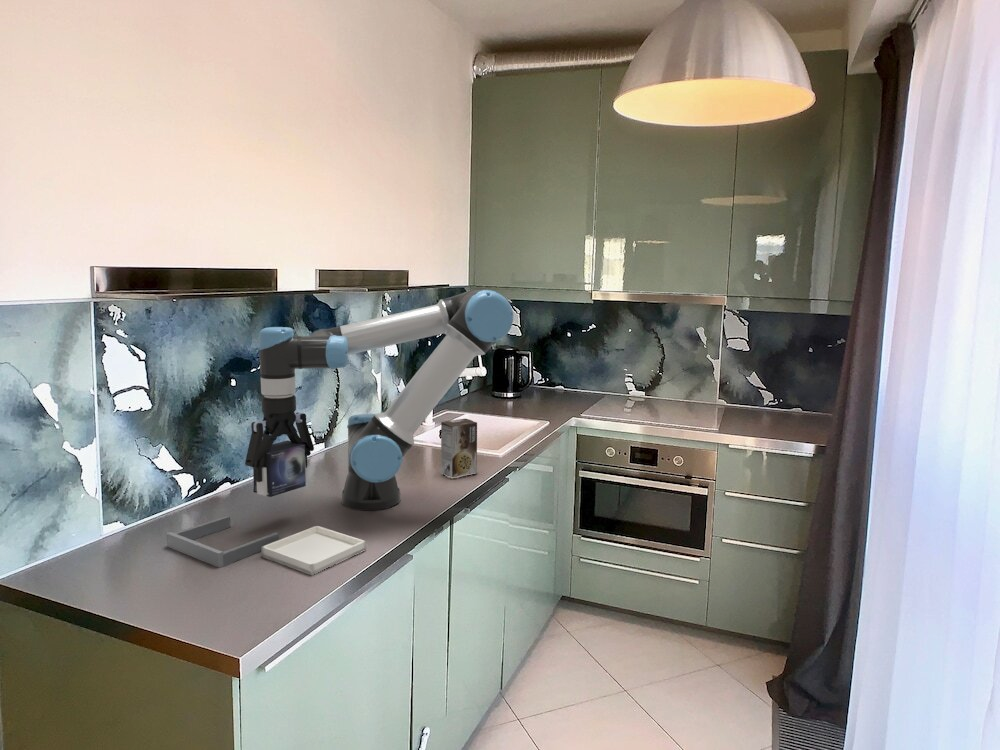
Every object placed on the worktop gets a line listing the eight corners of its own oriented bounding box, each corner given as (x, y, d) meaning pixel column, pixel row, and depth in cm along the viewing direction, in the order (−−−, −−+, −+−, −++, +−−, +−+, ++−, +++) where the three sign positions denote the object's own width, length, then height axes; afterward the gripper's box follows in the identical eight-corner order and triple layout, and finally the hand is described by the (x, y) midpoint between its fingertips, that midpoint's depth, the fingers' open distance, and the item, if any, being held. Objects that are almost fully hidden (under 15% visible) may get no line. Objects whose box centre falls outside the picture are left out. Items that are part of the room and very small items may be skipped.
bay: (227, 526, 162) (227, 513, 162) (279, 544, 153) (279, 531, 152) (166, 546, 150) (166, 533, 149) (219, 567, 140) (218, 553, 140)
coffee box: (465, 469, 213) (466, 417, 210) (477, 474, 208) (478, 421, 205) (439, 474, 207) (440, 421, 205) (451, 479, 202) (452, 425, 200)
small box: (271, 498, 157) (269, 453, 155) (252, 493, 161) (250, 448, 159) (307, 486, 166) (306, 443, 164) (289, 481, 169) (287, 439, 168)
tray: (317, 534, 158) (316, 525, 158) (366, 550, 150) (366, 541, 150) (261, 556, 146) (261, 546, 145) (312, 575, 138) (311, 565, 137)
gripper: (306, 386, 171) (309, 473, 174) (224, 401, 152) (229, 498, 155) (327, 389, 167) (330, 478, 170) (246, 405, 148) (251, 504, 151)
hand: (282, 488), depth 163 cm, fingers closed on small box, 10 cm apart
